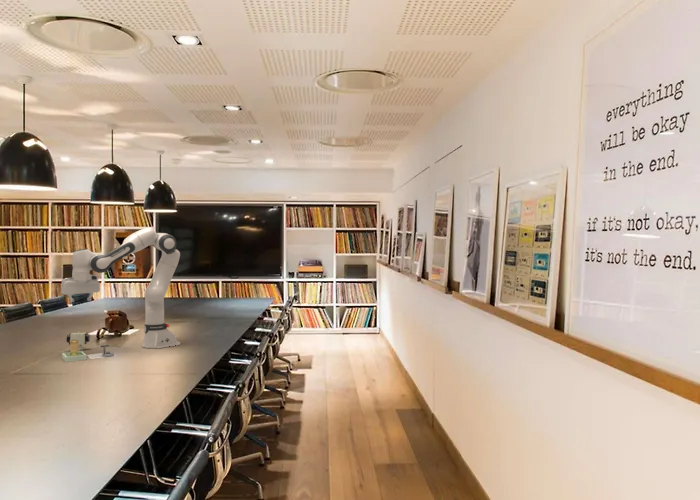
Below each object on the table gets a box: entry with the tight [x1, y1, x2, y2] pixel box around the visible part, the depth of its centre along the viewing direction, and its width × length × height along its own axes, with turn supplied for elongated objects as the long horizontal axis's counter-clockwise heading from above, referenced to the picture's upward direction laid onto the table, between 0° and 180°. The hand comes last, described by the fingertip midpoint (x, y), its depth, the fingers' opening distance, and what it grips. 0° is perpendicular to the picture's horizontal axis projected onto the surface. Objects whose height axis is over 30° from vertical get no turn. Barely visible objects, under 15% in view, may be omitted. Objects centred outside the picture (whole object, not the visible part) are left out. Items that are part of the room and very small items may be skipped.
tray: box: [61, 350, 88, 363], centre depth 267 cm, size 10×12×4 cm
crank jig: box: [86, 344, 117, 360], centre depth 276 cm, size 13×12×7 cm
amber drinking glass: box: [69, 340, 80, 357], centre depth 267 cm, size 4×4×10 cm
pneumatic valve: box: [66, 330, 91, 351], centre depth 289 cm, size 6×12×12 cm, turn 107°
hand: (80, 301), depth 279 cm, fingers open, 8 cm apart
